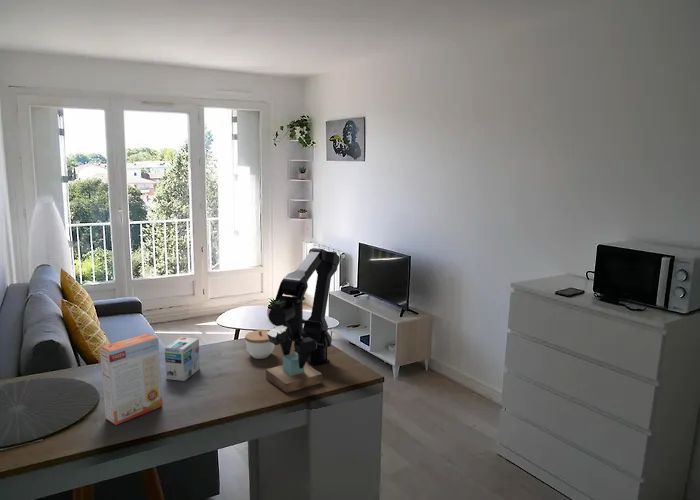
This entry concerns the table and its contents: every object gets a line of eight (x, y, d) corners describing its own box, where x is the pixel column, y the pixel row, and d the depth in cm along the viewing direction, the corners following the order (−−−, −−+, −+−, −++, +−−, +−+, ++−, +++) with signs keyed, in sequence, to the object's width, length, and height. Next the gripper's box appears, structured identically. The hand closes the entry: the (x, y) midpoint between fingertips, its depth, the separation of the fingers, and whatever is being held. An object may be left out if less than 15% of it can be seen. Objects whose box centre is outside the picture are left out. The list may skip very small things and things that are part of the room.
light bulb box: (184, 381, 163) (183, 349, 161) (165, 379, 164) (163, 347, 162) (200, 368, 173) (199, 338, 171) (182, 366, 175) (181, 336, 173)
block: (296, 367, 168) (296, 352, 167) (304, 372, 164) (304, 357, 163) (282, 370, 165) (282, 356, 164) (290, 376, 161) (290, 361, 160)
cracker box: (152, 400, 150) (148, 332, 146) (163, 407, 146) (159, 337, 143) (104, 418, 139) (98, 345, 136) (114, 426, 136) (109, 351, 132)
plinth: (300, 369, 174) (300, 360, 174) (321, 382, 164) (321, 373, 163) (266, 378, 166) (265, 369, 166) (286, 393, 156) (286, 383, 156)
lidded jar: (251, 349, 191) (250, 325, 190) (279, 351, 190) (278, 326, 188) (241, 360, 181) (240, 334, 179) (270, 362, 180) (270, 336, 178)
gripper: (256, 313, 164) (257, 359, 167) (286, 329, 149) (286, 380, 152) (287, 307, 171) (287, 352, 173) (318, 322, 156) (317, 371, 159)
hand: (293, 363), depth 164 cm, fingers open, 9 cm apart
